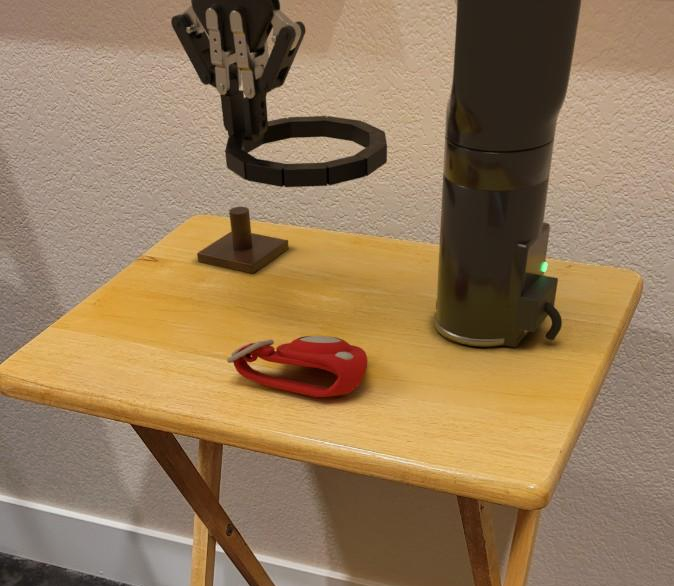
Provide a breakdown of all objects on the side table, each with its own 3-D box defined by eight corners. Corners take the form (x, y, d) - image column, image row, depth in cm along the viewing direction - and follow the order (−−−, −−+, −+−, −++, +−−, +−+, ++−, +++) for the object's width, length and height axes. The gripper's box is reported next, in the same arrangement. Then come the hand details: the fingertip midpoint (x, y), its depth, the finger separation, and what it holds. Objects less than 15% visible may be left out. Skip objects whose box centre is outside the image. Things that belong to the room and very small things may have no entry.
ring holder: (288, 248, 102) (285, 204, 98) (253, 273, 97) (248, 227, 93) (235, 237, 104) (230, 193, 101) (197, 261, 100) (191, 216, 96)
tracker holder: (333, 327, 85) (394, 344, 77) (332, 374, 87) (390, 394, 79) (218, 333, 79) (272, 351, 71) (219, 383, 81) (271, 406, 73)
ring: (412, 144, 84) (413, 127, 83) (337, 197, 75) (336, 179, 74) (281, 125, 90) (280, 108, 89) (196, 171, 81) (194, 154, 80)
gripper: (132, -89, 72) (166, 139, 85) (272, -82, 67) (287, 159, 79) (186, -100, 77) (211, 118, 89) (321, -95, 72) (328, 135, 84)
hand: (247, 136), depth 84 cm, fingers closed on ring, 1 cm apart
